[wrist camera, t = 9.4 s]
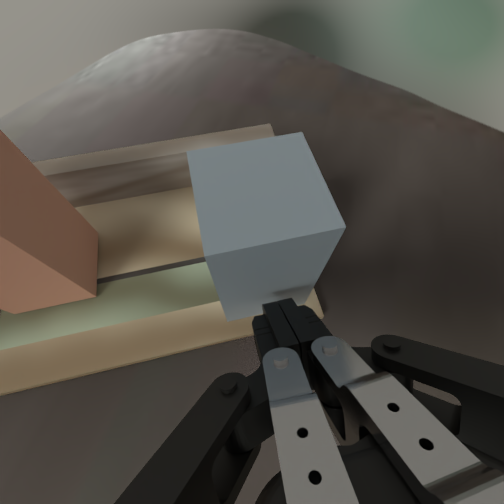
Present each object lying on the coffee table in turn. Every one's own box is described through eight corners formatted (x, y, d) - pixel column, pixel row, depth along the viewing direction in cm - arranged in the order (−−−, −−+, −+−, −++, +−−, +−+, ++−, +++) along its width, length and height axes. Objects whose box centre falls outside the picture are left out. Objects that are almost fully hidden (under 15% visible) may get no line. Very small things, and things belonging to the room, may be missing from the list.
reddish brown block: (96, 296, 18) (-31, 216, 10) (14, 314, 17) (-188, 244, 9) (98, 232, 20) (-4, 125, 12) (26, 246, 20) (-130, 144, 12)
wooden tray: (321, 318, 18) (339, 298, 14) (-6, 397, 16) (-83, 397, 12) (267, 164, 24) (270, 123, 21) (28, 206, 22) (-16, 170, 19)
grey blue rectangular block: (304, 303, 18) (346, 227, 10) (227, 321, 17) (204, 256, 9) (282, 238, 20) (301, 131, 12) (214, 252, 19) (186, 151, 11)
